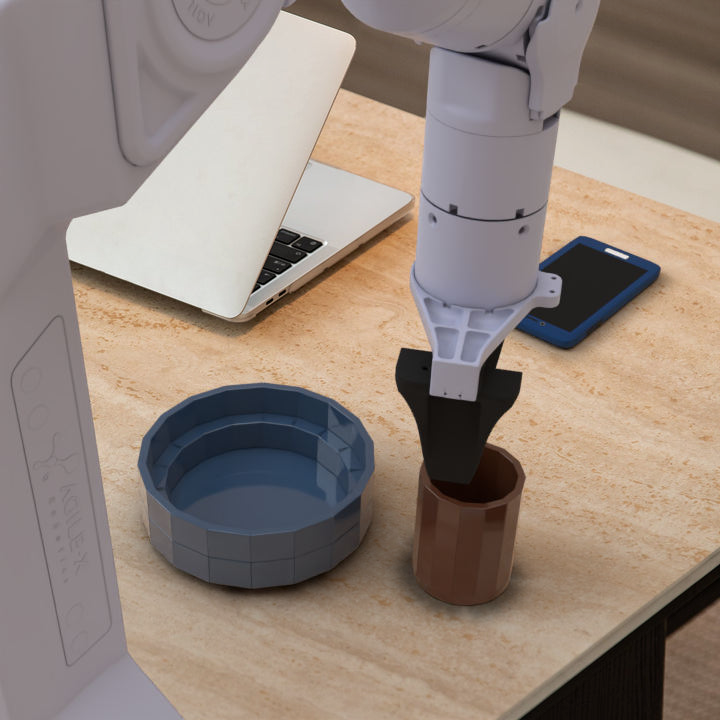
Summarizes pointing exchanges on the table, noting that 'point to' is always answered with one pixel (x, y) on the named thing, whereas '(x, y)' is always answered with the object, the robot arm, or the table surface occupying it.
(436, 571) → the cup
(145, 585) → the table surface
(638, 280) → the cell phone
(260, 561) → the bowl
